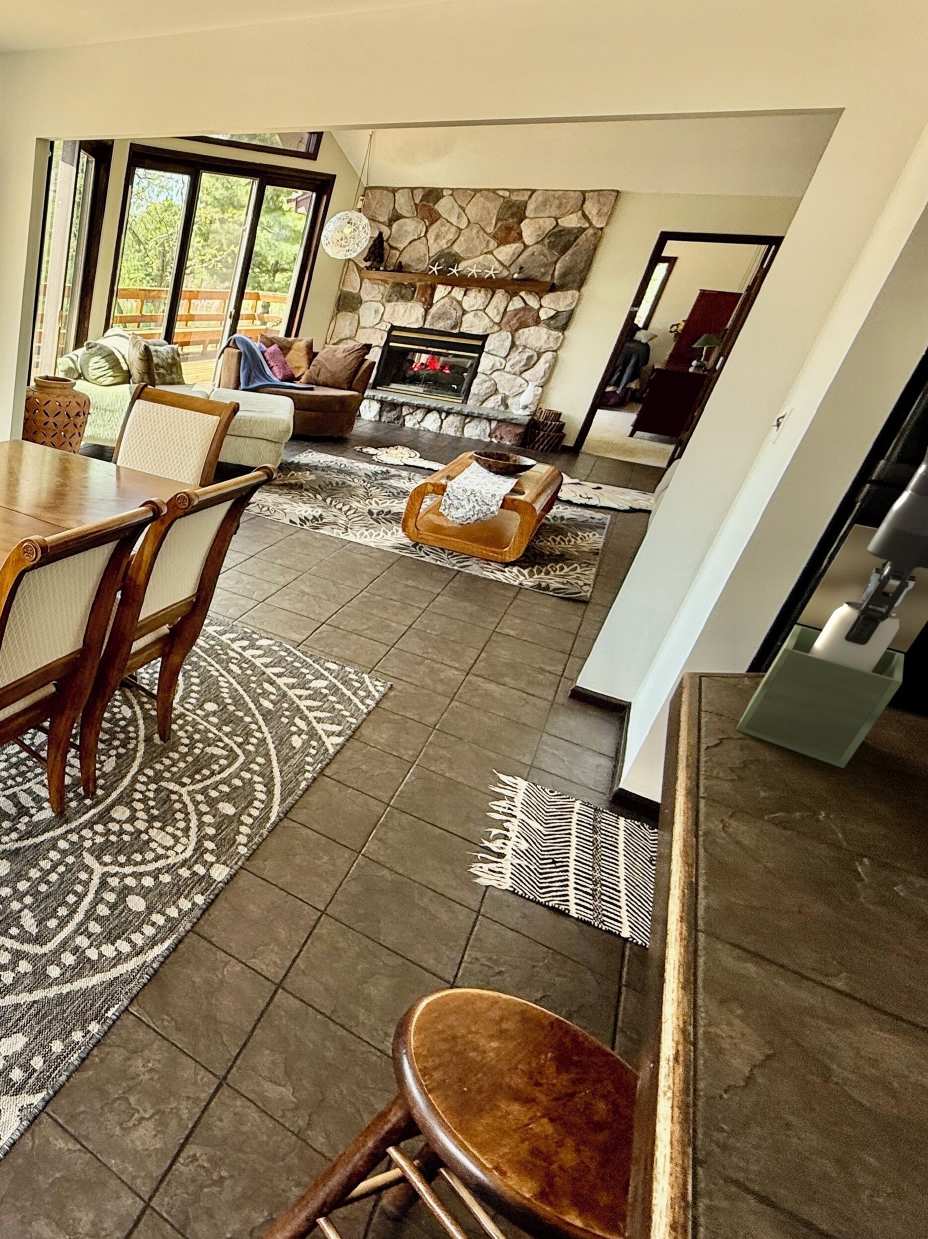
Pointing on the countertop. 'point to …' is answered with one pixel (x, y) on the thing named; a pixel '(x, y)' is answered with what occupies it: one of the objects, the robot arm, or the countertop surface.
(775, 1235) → the countertop surface
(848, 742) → the chest
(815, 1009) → the countertop surface
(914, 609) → the lid
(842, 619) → the can
